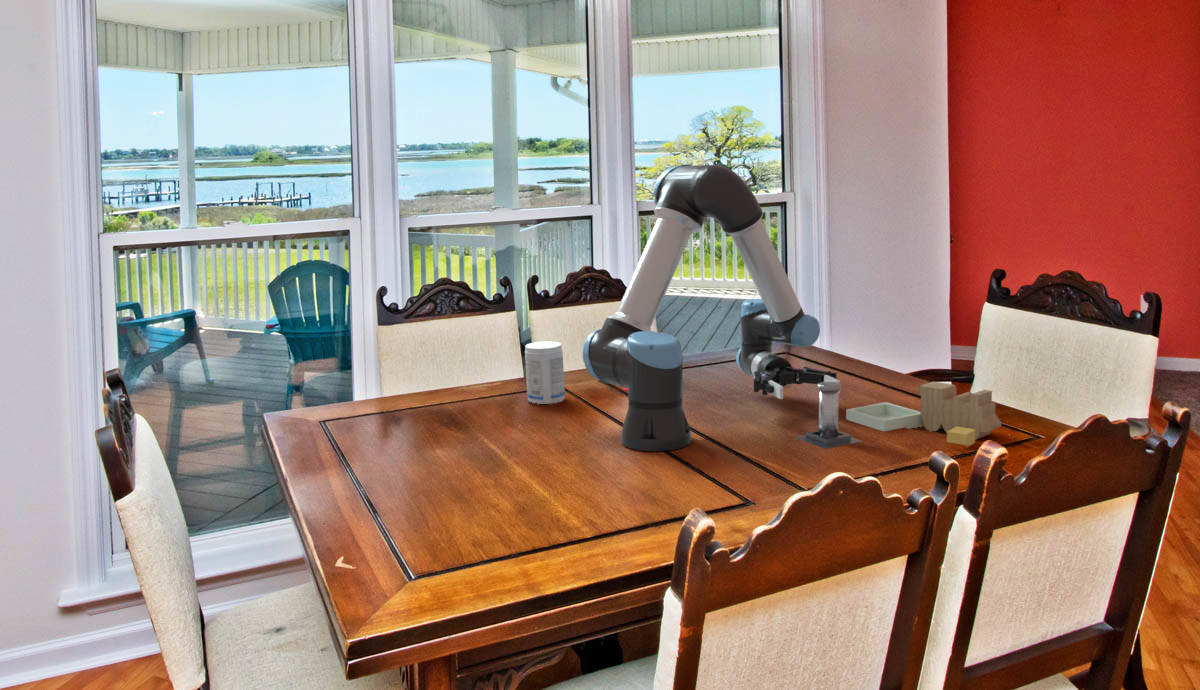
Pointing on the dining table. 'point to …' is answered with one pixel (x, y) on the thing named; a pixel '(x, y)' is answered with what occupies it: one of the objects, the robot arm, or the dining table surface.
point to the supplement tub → (544, 372)
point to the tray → (885, 416)
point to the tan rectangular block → (961, 436)
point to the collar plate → (828, 439)
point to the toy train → (957, 409)
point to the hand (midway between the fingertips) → (810, 390)
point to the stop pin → (828, 408)
